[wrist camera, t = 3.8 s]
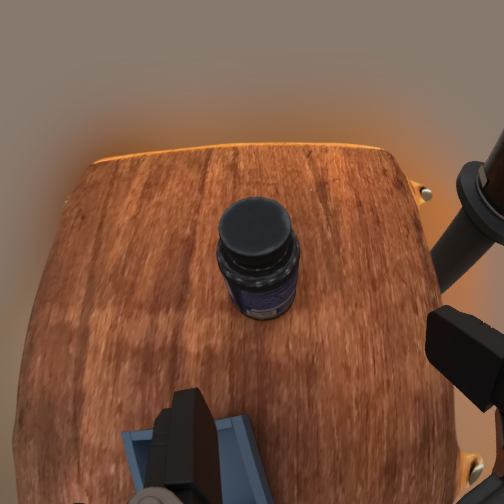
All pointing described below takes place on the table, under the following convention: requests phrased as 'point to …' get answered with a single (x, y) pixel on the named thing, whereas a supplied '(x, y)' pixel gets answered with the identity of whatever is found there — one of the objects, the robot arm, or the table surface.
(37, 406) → the table surface
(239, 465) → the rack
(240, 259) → the pill bottle
